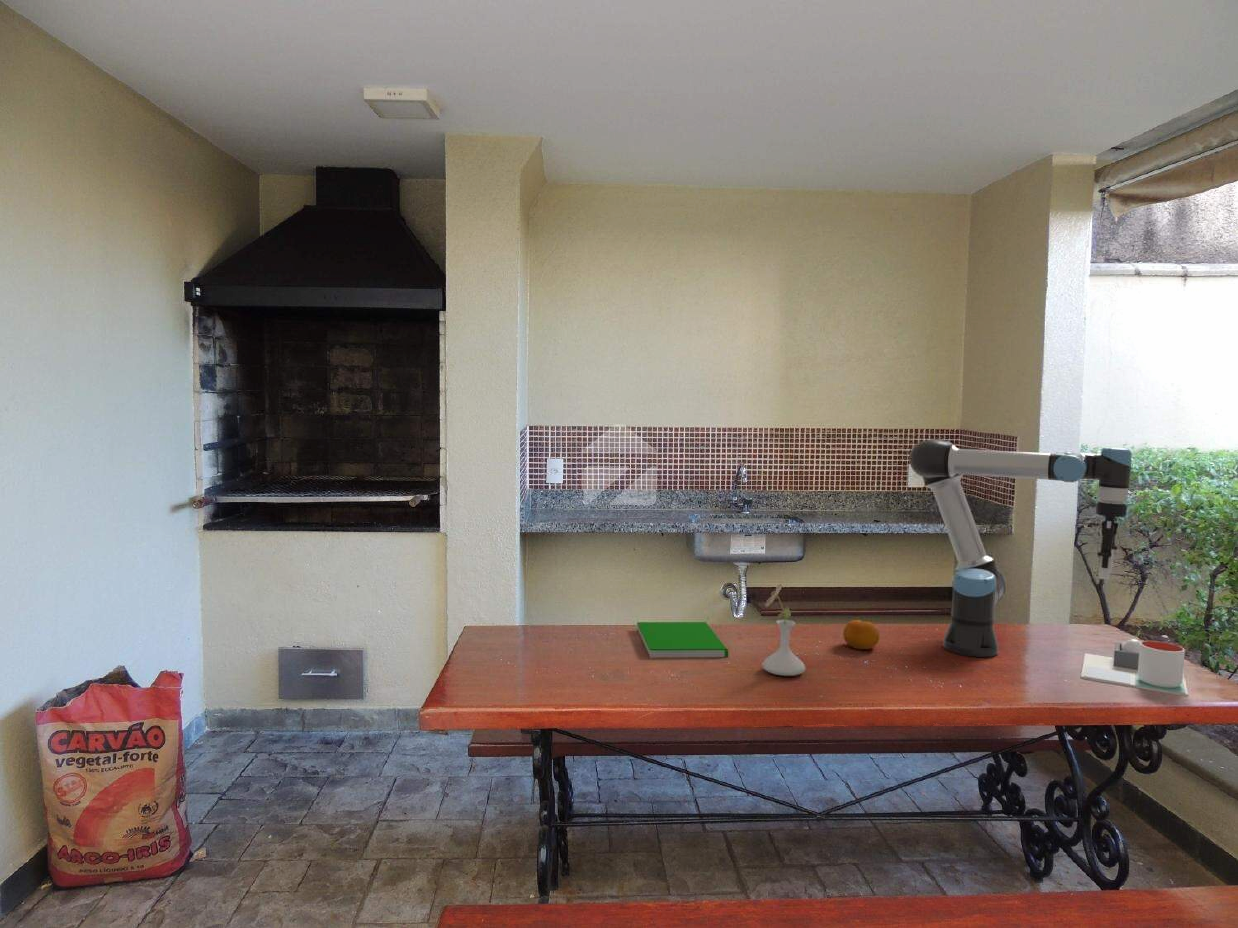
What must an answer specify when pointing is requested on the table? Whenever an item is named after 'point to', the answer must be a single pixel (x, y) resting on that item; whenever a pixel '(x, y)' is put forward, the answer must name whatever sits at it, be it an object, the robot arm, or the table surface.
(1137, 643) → the dome button
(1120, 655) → the dome housing
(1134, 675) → the game board
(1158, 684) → the cup
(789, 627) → the flower in vase
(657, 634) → the book
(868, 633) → the fruit
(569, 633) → the table surface
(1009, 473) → the robot arm
